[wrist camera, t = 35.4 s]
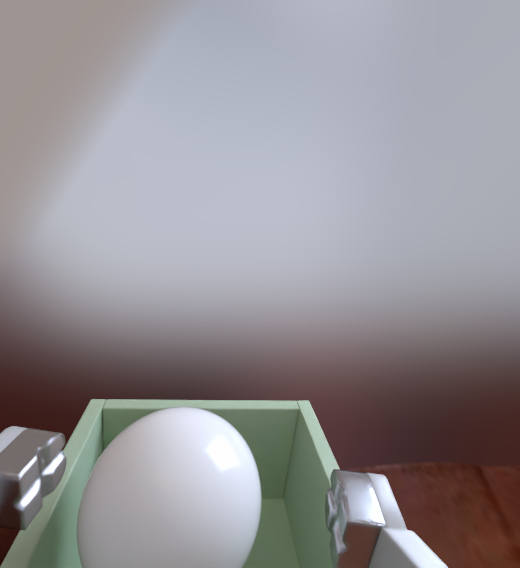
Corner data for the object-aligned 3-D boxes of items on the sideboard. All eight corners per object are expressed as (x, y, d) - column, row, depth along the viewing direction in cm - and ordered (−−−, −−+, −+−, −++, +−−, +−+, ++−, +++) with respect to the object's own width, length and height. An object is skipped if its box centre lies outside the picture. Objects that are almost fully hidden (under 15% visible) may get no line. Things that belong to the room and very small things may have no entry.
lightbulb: (107, 560, 16) (95, 378, 13) (229, 536, 18) (249, 370, 14) (71, 775, 11) (30, 554, 7) (256, 711, 12) (299, 507, 9)
